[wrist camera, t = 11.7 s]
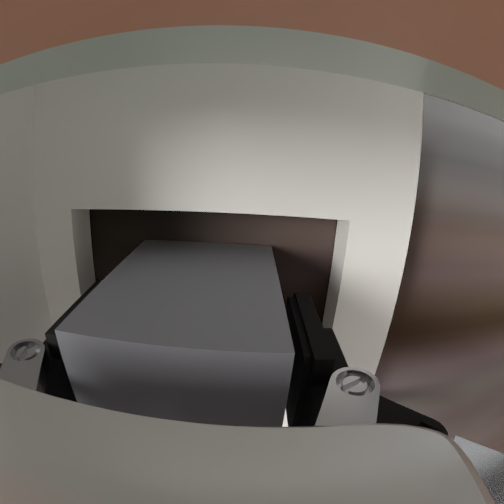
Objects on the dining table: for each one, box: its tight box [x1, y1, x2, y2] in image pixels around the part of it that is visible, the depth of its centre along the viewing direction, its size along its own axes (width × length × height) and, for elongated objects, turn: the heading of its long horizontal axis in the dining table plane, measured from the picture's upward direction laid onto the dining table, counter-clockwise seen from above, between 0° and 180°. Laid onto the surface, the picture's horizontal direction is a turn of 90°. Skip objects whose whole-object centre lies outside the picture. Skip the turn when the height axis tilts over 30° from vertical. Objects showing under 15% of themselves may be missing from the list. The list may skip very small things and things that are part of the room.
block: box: [55, 239, 295, 427], centre depth 10 cm, size 5×5×7 cm
